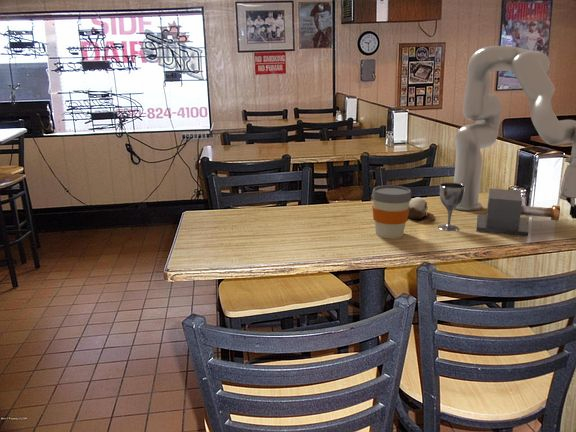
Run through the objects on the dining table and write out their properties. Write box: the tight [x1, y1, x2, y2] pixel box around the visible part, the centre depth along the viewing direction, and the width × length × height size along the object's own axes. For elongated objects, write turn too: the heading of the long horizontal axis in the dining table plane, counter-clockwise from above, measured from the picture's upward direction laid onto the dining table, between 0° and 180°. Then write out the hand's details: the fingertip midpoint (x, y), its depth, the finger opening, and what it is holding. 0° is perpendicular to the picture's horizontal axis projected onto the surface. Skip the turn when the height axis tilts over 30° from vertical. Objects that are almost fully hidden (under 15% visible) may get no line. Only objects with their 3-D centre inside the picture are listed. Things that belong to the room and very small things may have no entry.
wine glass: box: [437, 181, 465, 232], centre depth 183 cm, size 8×8×15 cm
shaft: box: [520, 205, 561, 222], centre depth 181 cm, size 16×5×5 cm, turn 70°
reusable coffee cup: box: [371, 184, 412, 239], centre depth 177 cm, size 13×13×15 cm
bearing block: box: [475, 188, 530, 238], centre depth 184 cm, size 16×16×12 cm
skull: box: [407, 196, 436, 223], centre depth 196 cm, size 12×10×10 cm
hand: (574, 217), depth 177 cm, fingers closed
